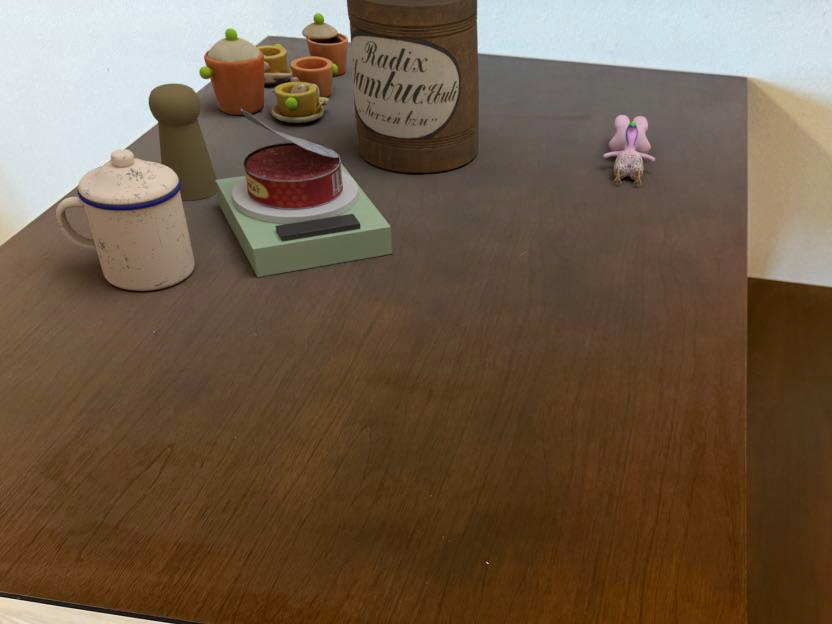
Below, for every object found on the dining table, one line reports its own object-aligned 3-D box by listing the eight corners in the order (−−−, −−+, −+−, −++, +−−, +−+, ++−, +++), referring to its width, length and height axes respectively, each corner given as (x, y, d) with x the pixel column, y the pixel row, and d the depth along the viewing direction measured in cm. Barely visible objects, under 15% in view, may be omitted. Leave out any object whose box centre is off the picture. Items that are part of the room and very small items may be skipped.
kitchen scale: (220, 206, 106) (213, 172, 103) (343, 188, 110) (340, 155, 108) (257, 277, 95) (251, 241, 92) (392, 254, 99) (390, 218, 97)
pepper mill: (194, 173, 112) (175, 73, 104) (230, 187, 109) (213, 86, 102) (152, 190, 108) (128, 87, 101) (188, 205, 106) (167, 101, 98)
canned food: (262, 218, 106) (247, 121, 103) (354, 210, 106) (341, 112, 103) (235, 213, 95) (218, 104, 92) (337, 203, 95) (322, 93, 92)
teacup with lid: (205, 249, 99) (182, 134, 91) (187, 294, 92) (161, 174, 84) (85, 248, 98) (51, 131, 90) (59, 293, 91) (19, 171, 83)
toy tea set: (318, 132, 122) (310, 50, 116) (199, 122, 123) (184, 40, 116) (364, 65, 141) (359, -8, 135) (260, 57, 142) (250, -16, 135)
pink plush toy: (652, 198, 115) (654, 131, 124) (659, 152, 110) (660, 85, 119) (599, 194, 115) (605, 127, 124) (604, 148, 110) (610, 82, 119)
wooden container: (338, 163, 115) (319, -47, 100) (385, 120, 126) (374, -76, 111) (455, 182, 113) (453, -31, 98) (493, 137, 123) (497, -62, 108)
